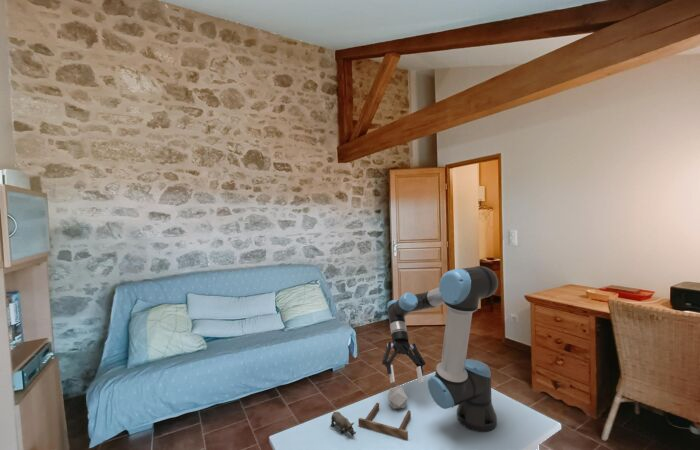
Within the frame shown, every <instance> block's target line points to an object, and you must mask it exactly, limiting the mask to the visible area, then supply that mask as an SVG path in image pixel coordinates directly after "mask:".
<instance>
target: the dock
mask: <svg viewBox="0 0 700 450" xmlns="http://www.w3.org/2000/svg"><path fill="white" fill-rule="evenodd" d="M379 412H380V403H379V402H376V403H375V405H374V406H373V408H372V409H371V410H370V411H369V413H368V415H367V416H366V417H365V418H362V417H358V427H359V428H363V429H366V430H370V431H373V432H376V433H381V434H383V435H387V436H391V437H394V438H398V439H400V440H403V441H404V440H405V441H408V440H409V432H408V430H406V429H407V427H408V425H409V422H410V420H411V419H412V416H411V415H412V414H411V410H409V409H408V410H407V412H406V413H405V416H404V417H403V419H402V421H401V424H400V425H399V426H398V427H396V426H395V427H394V426H392V425H391V426H390V425H387V424H384V423H379V422H377V421H374V419H375V417H376V416H377V414H378V413H379Z"/></svg>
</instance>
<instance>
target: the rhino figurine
mask: <svg viewBox="0 0 700 450" xmlns="http://www.w3.org/2000/svg"><path fill="white" fill-rule="evenodd" d="M348 419H349V418H347V417H345V416H344V415H342V414H341V412H339V411H334V412H333V413H332V414H331V421H330V422H331V424H330V427H335V426H336V427H337V426H338V427H339V428H340V430H339V433H340V435H342V434H344V432H345V433H348V434H349V435H351V437H354V435H356V434H357V431H355V430H354V428H353V425H354V423H355V422H352V423H351V422H350V421H349V420H348Z"/></svg>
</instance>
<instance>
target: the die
mask: <svg viewBox="0 0 700 450" xmlns="http://www.w3.org/2000/svg"><path fill="white" fill-rule="evenodd" d="M387 400H388V402H389V404H390V406H391V409H393V410H394V409H396V410H397V409H398V410H399V409H400V410H401V409H405V407H406V404H407V401H408V396H407V395H406V393H405V390H404V388H403V387H390V389H389V392H388V395H387Z"/></svg>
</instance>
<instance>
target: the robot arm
mask: <svg viewBox="0 0 700 450" xmlns="http://www.w3.org/2000/svg"><path fill="white" fill-rule="evenodd" d="M498 288H499V279H498V277H497V274H496V273H495V272H494V271H493V270H492V269H490V268H489V267H488V266H487V267H486V266H482V265H477V266H471V267H463V268H455V269H454V268H453V269H450V270H448V271H446V272H445V273H443V275H442V276H441V278H440V280H439V284H438V287H436V288H433V289H431V290H428V291H424V292H420V293H415V294H414V293H412V292H405V293H404V294H402V295H401V296H399V298H398V299H392V300H389V301H388V302H387V305H386V307H387V309H386V310H387V315H388V320H389V321H388V322H389V328H390V333H391V335H390V336H391V341H392V342H391V341H388V342H387V343H386V347H385V352H384V355H383V358H382V361H381V364H382V366H385V368H386V374H387V375H389V382H390V384H393V383H396V382H395V381H396V380H395V373H394V365H393V364H392V362H393V361H394V359H395V357H396V356H397V355H406V356H407V357H408V358H409V359H410V360H411V362H413V363H414V364H415V366H416V367H415V369H416V375H417V380H418V385H419V384H420V385H421V384H423V383H424V377H423V375H424V370H423V366H425V365H426V361H425V360H424V358H423V357H422V355H421V353H420V352H419V350H418V348H417V345H416V343H412V344H410V341H409V335H408V332H407V331H408V329H407V328H408V327H407V324H406V317H405V316H407V315H408V314H409V313H412V312H417V311H418V312H419V311H422V310H426V309H434V308H437V307H439V306H442V305H445V306H446V307H447V309H446V310H447V312H446V319H445V328H444V333H443V342H442V343H443V345H442V351H441V360H440V362H439V363H437V365H436V366H435V374H434V375H431V376H430V377H428V379H427V387H428V388H427V389H428V391H429V394H430V396H431V398H432V400H433V401H434V402H435V404H436V405H437V406H439V408H442V409H450V408H454V407H456V406H457V408H456V419H457V421H458V422H459V423H460V424H461V425H462V426H463V427H465V428H466V429H469V430H472V431H476V432H490V431H492V430H495V428H497V425H498V418H497V414H496V410H495V409H494V405H493V403H492V375H491V369H490V367H489V365H488V364H486V363H484V362H483V361H480V360H477V359H470V358H467V354H468V353H467V352H468V347H469V338H470V332H471V326H472V319H473V318H472V317H473V313H475V312H476V311H478V309H479V303H480V300H481V299H482V300H483V299H485V298H488V297H491V296H492V295H494V294H495V293H496V292H497V290H498ZM392 348H393V352H392V354H391V355H390V353H391V349H392ZM389 356H390V357H389Z"/></svg>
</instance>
